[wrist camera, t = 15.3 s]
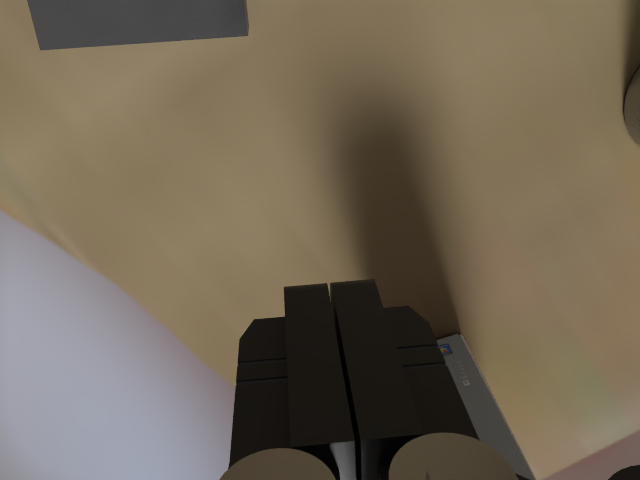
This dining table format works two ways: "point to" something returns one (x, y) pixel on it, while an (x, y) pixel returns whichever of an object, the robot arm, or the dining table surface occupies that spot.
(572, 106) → the dining table surface
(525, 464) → the hard drive box
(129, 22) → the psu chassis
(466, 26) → the dining table surface
